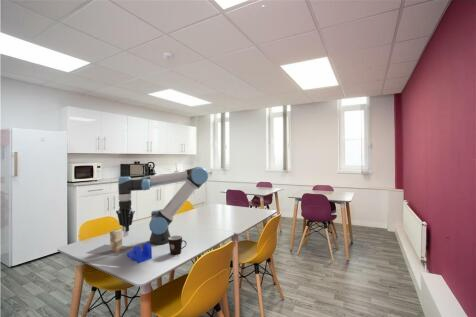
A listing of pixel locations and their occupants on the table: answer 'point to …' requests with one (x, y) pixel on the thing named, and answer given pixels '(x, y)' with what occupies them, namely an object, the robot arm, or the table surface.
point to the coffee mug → (175, 244)
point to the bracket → (141, 253)
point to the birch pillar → (115, 240)
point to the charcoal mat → (108, 250)
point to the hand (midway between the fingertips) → (125, 236)
